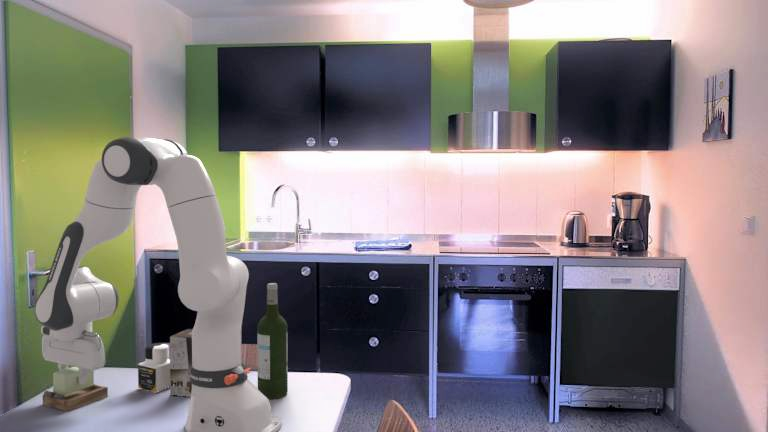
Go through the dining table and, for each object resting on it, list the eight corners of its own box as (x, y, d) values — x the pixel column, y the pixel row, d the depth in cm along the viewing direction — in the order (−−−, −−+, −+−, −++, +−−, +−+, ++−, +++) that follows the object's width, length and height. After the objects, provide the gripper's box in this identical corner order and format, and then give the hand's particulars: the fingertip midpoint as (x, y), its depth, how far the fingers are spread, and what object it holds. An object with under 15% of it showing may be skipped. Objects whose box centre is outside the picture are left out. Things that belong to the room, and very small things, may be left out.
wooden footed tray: (107, 396, 145) (107, 382, 145) (66, 412, 134) (65, 397, 134) (82, 390, 149) (82, 377, 149) (40, 405, 139) (40, 390, 139)
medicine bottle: (137, 389, 151) (137, 346, 150) (159, 381, 157) (158, 340, 156) (155, 393, 147) (155, 349, 147) (176, 385, 154) (176, 343, 153)
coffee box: (191, 397, 144) (190, 337, 144) (169, 395, 146) (168, 336, 145) (208, 385, 153) (208, 329, 153) (188, 384, 155) (187, 327, 154)
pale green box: (93, 385, 144) (93, 366, 144) (64, 395, 137) (64, 375, 137) (82, 382, 146) (82, 364, 146) (53, 392, 139) (53, 372, 139)
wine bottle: (293, 391, 149) (293, 282, 148) (276, 401, 142) (275, 287, 141) (269, 387, 152) (269, 280, 151) (251, 396, 145) (251, 284, 144)
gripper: (111, 330, 140) (112, 384, 140) (59, 321, 148) (60, 372, 149) (88, 336, 134) (89, 391, 134) (36, 326, 143) (37, 379, 143)
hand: (73, 381), depth 142 cm, fingers closed on pale green box, 4 cm apart
